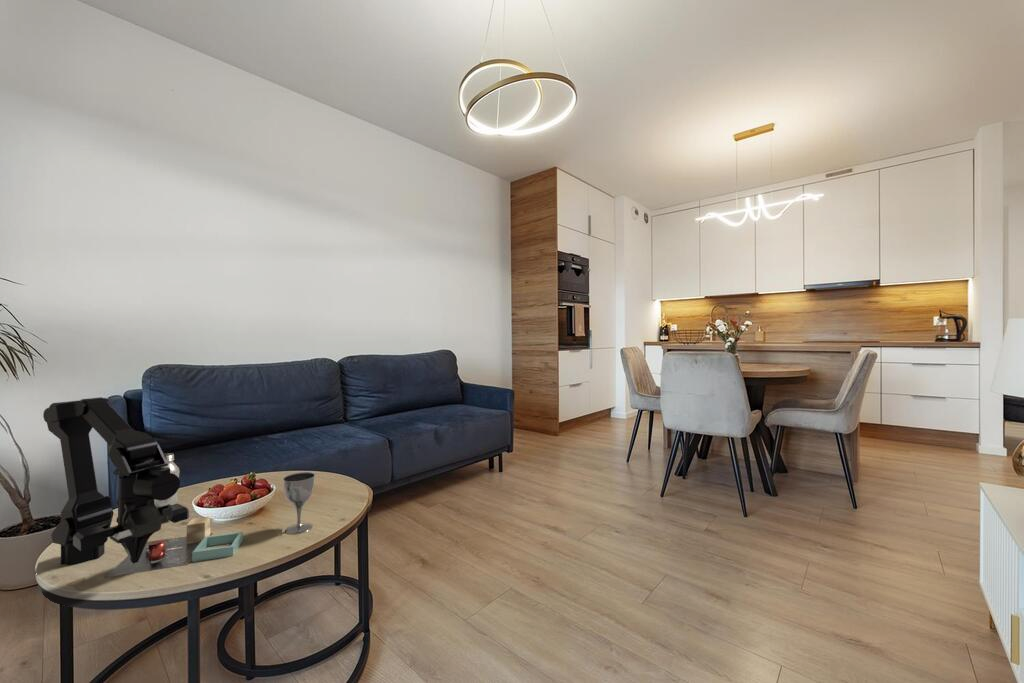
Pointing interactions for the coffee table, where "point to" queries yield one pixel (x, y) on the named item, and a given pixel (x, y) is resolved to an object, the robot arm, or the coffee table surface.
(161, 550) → the crank
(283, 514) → the coffee table surface
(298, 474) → the wine glass
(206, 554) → the tray
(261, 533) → the coffee table surface
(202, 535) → the block
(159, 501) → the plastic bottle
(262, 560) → the coffee table surface
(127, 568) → the bedplate
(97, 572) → the coffee table surface
